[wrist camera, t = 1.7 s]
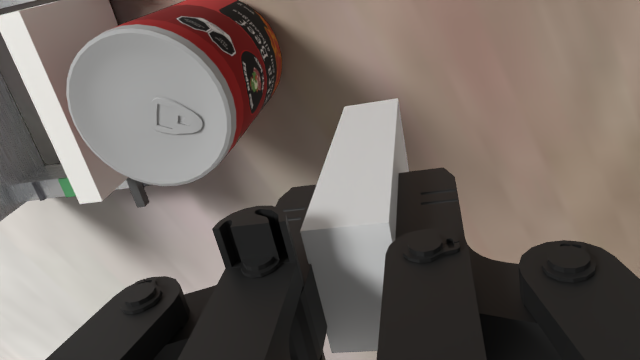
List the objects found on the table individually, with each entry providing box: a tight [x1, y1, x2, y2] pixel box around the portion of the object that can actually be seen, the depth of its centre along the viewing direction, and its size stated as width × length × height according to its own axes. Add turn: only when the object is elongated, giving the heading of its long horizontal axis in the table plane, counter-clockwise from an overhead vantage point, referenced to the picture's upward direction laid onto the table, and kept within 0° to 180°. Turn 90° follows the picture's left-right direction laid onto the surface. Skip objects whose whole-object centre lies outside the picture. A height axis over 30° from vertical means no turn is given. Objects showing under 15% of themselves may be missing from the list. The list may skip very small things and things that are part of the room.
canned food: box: [66, 0, 282, 186], centre depth 28 cm, size 8×8×11 cm
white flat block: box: [0, 0, 149, 207], centre depth 32 cm, size 13×2×8 cm, turn 12°
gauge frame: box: [0, 0, 151, 221], centre depth 31 cm, size 14×13×10 cm
